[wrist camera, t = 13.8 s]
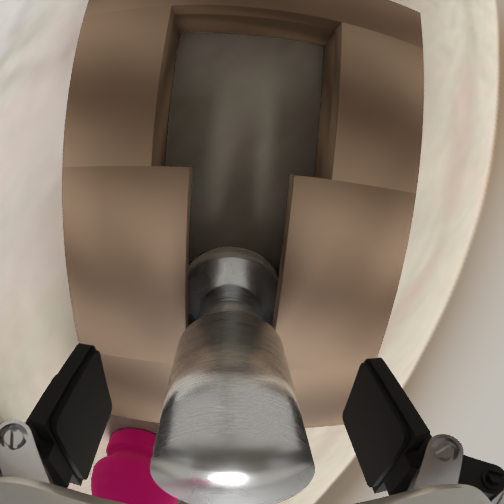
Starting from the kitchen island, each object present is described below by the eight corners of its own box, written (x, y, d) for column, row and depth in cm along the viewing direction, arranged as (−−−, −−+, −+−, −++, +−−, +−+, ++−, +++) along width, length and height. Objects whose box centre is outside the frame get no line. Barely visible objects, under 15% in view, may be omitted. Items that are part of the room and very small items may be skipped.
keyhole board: (119, 10, 12) (95, -20, 9) (387, 34, 14) (420, 12, 10) (114, 374, 19) (97, 412, 15) (335, 385, 21) (351, 423, 17)
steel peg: (179, 243, 17) (97, 395, 5) (287, 250, 17) (374, 404, 6) (179, 335, 19) (141, 509, 7) (275, 341, 19) (315, 513, 8)
